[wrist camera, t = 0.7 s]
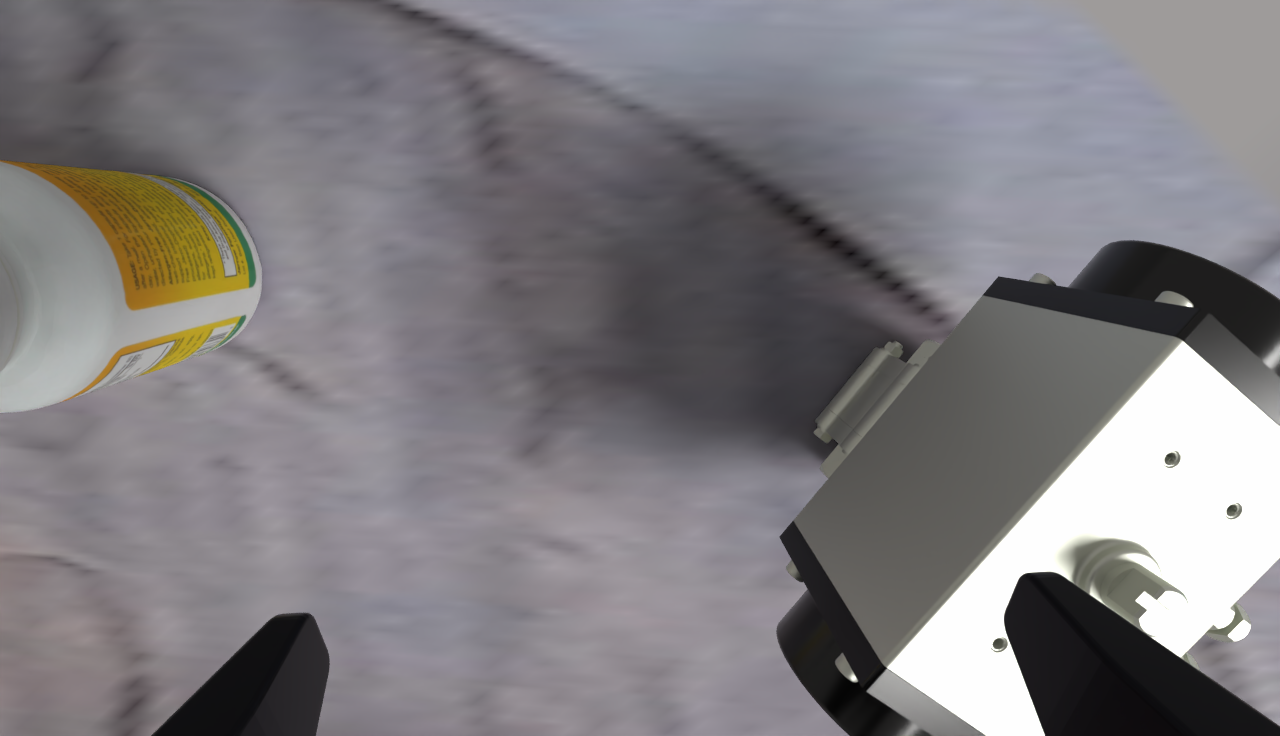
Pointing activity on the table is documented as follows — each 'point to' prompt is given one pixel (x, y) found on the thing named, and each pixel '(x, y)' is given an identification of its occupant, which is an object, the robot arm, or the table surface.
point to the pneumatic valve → (1038, 487)
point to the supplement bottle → (112, 279)
